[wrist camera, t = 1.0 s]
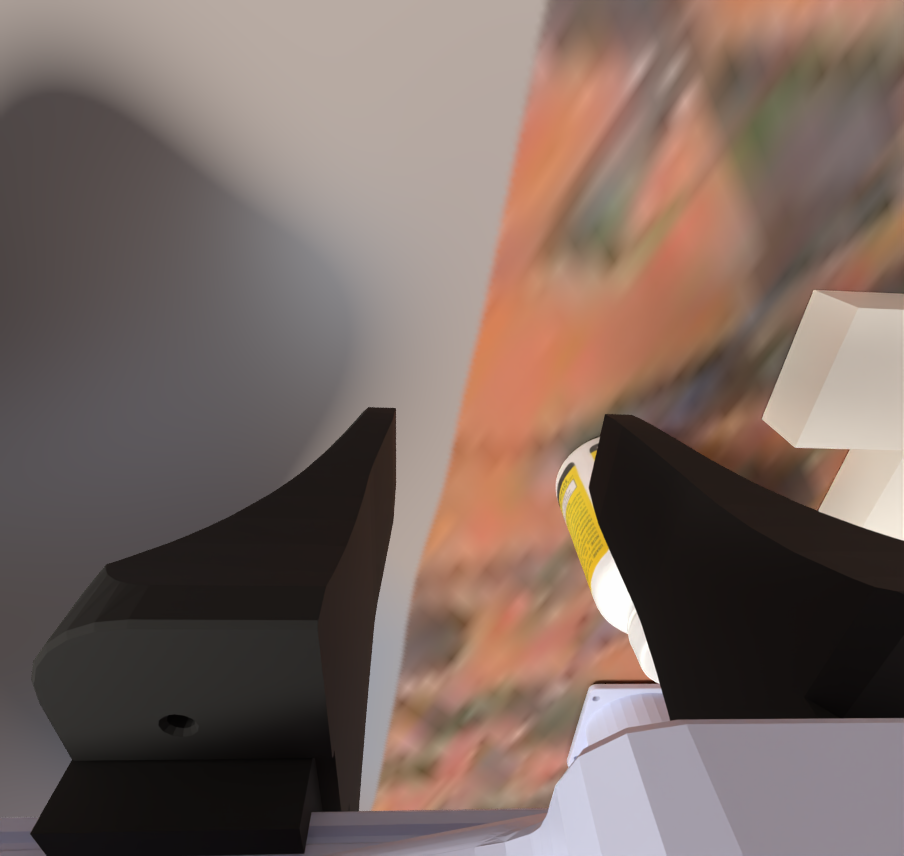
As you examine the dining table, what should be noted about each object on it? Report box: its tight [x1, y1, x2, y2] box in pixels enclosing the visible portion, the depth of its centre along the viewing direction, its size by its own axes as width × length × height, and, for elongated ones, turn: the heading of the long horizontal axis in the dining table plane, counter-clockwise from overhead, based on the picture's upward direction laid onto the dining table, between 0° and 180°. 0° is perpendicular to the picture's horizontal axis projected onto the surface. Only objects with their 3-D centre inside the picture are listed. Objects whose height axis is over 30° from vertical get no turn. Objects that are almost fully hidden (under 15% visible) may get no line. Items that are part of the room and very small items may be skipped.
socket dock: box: [762, 290, 904, 541], centre depth 24 cm, size 19×8×3 cm, turn 177°
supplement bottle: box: [556, 437, 660, 684], centre depth 21 cm, size 5×5×10 cm
